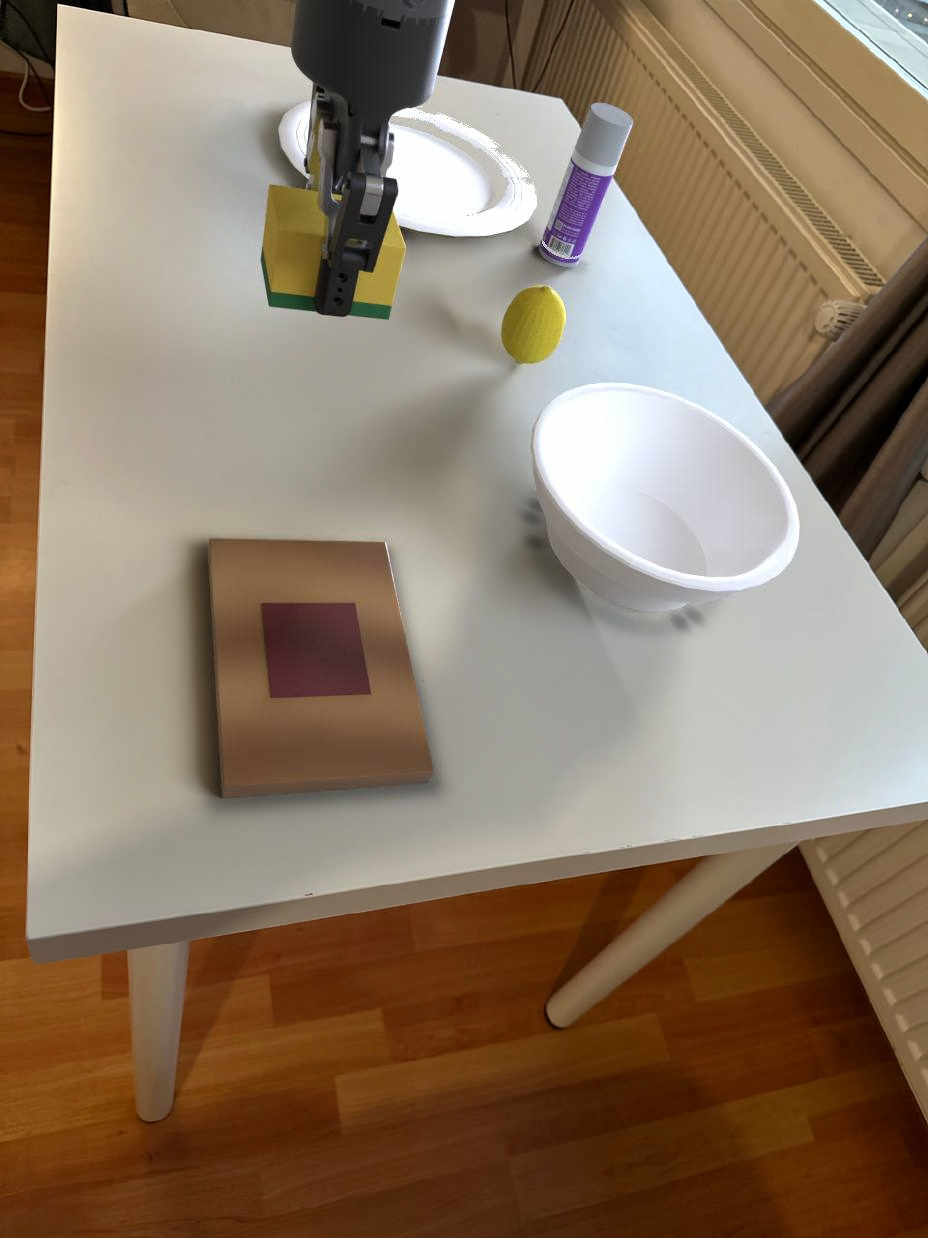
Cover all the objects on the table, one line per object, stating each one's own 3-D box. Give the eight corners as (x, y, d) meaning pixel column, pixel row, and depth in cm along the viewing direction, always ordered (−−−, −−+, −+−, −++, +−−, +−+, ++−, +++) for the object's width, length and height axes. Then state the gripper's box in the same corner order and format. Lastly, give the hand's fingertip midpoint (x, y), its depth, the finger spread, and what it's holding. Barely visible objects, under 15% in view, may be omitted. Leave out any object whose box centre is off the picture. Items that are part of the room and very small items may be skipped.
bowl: (764, 532, 76) (818, 464, 70) (715, 706, 62) (777, 639, 56) (549, 423, 77) (583, 345, 71) (455, 569, 64) (487, 489, 58)
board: (428, 783, 53) (435, 771, 51) (222, 799, 49) (223, 786, 47) (382, 555, 63) (386, 540, 61) (207, 552, 59) (208, 536, 57)
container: (586, 265, 97) (643, 125, 85) (555, 269, 94) (609, 126, 83) (561, 240, 99) (614, 101, 87) (530, 244, 96) (580, 101, 85)
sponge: (268, 306, 53) (278, 228, 49) (260, 259, 56) (269, 182, 52) (388, 320, 55) (406, 247, 52) (375, 274, 58) (391, 202, 54)
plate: (544, 167, 109) (549, 152, 108) (515, 284, 90) (521, 267, 89) (318, 83, 106) (320, 67, 105) (238, 186, 87) (240, 167, 86)
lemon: (490, 338, 83) (517, 261, 77) (546, 352, 84) (576, 278, 78) (490, 373, 80) (517, 296, 74) (548, 387, 81) (579, 312, 75)
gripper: (285, -97, 45) (253, 216, 58) (324, 17, 37) (277, 351, 50) (423, -59, 48) (363, 232, 61) (487, 55, 40) (403, 363, 53)
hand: (324, 284), depth 55 cm, fingers closed on sponge, 5 cm apart
